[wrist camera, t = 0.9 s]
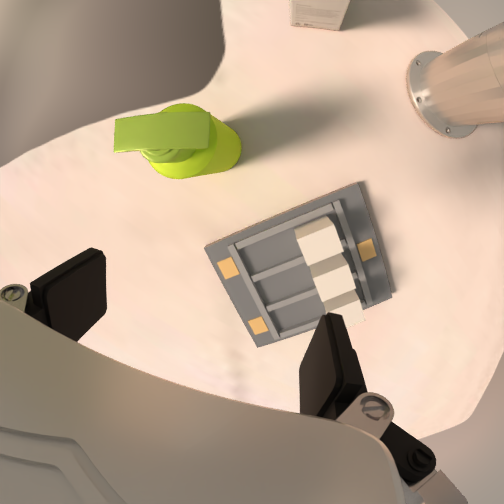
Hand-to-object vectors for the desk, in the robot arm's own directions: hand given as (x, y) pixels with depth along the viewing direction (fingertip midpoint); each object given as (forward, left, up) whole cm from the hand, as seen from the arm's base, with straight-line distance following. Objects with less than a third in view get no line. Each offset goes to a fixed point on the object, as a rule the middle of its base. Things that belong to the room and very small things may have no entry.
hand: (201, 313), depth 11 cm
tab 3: (-6, +14, -22) cm, 27 cm away
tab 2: (-6, +10, -22) cm, 25 cm away
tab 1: (-6, +5, -22) cm, 24 cm away
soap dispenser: (0, -8, -24) cm, 25 cm away
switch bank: (-3, +10, -24) cm, 26 cm away
